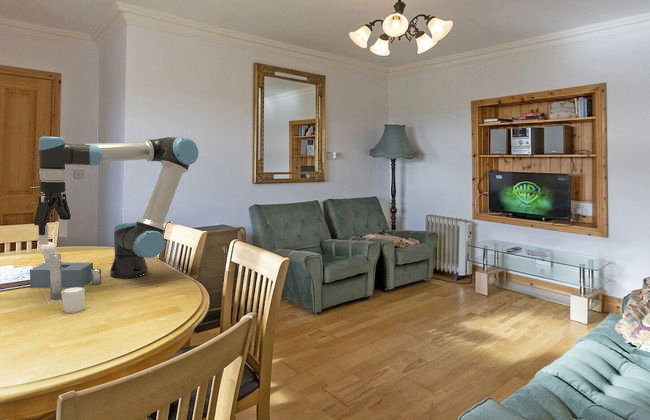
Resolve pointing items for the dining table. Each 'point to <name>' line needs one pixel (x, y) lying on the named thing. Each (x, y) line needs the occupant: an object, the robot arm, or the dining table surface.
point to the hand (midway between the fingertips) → (54, 240)
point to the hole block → (71, 275)
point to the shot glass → (73, 299)
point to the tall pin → (55, 276)
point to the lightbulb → (47, 250)
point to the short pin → (96, 276)
